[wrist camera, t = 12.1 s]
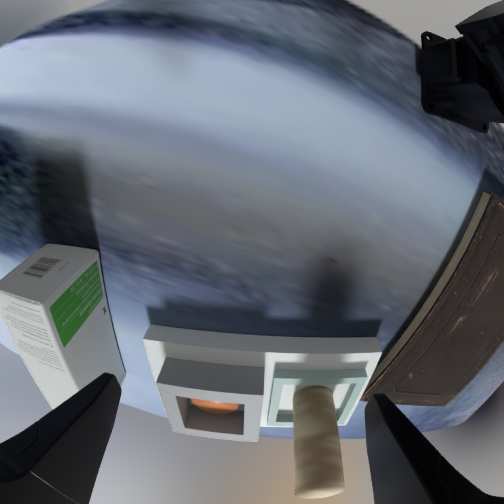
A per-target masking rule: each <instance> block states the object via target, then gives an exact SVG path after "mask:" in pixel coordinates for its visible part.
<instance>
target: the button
mask: <svg viewBox="0 0 504 504" xmlns="http://www.w3.org/2000/svg"><path fill="white" fill-rule="evenodd" d="M191 400H192V402H193V403H194V405H195V406H197V407H198V408H200V409H201V410H204V411H206V412H209V413H214V414H228V413H231V412H233V411H235V410H236V409H237V408H238V406H239V404H236V403H226V402H216V401H208V400H200V399H193V398H191Z"/></svg>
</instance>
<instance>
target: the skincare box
mask: <svg viewBox="0 0 504 504" xmlns="http://www.w3.org/2000/svg"><path fill="white" fill-rule="evenodd" d="M0 311H1V314H2V316H3V319H4V321H5V323H6V326H7V328H8V330H9V332H10V335H11V337H12V339H13V341H14V343H15V345H16V347H17V349H18V351H19V353H20V355H21V357H22V359H23V361H24V362H25V364H26V366H27V368H28V370H29V372H30V374H31V375H32V377H33V379H34V380H35V382H36V384H37V385H38V387H39V389H40V390H41V392H42V393H43V395H44V397H45V398H46V400H47V401H48V403H49V404H50V406H51V407H52V409H55V408H56V407H57V406H59V405H60V404H62V403H63V402H64V401H66V400H67V399H68V398H70V397H71V396H73V395H74V394H75V393H77V392H78V391H79V390H81V389H82V388H83V387H85V386H86V385H88V384H89V383H90V382H92V381H93V380H94V379H96V378H97V377H99V376H100V375H101V374H103V373H105V372H107V373H111V374H114V375H115V376H116V378H117V380H118V382H119V384H120V387H121V385H122V383H123V381H124V379H125V377H126V374H125V370H124V367H123V364H122V361H121V357H120V354H119V350H118V346H117V343H116V339H115V335H114V331H113V327H112V323H111V318H110V314H109V309H108V305H107V300H106V294H105V289H104V284H103V278H102V272H101V266H100V259H99V252H98V251H97V250H93V249H87V248H81V247H74V246H66V245H58V244H46V245H45V246H44V247H42V248H41V249H39V250H38V251H37V252H35V253H34V254H33V255H31V256H30V257H29V258H27V259H26V260H25V261H23V262H22V263H21V264H20V265H18V266H17V267H16V268H15V269H13V270H12V271H11V272H10V273H8V274H7V275H6V276H5V277H3V278H2V279H1V280H0Z"/></svg>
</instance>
